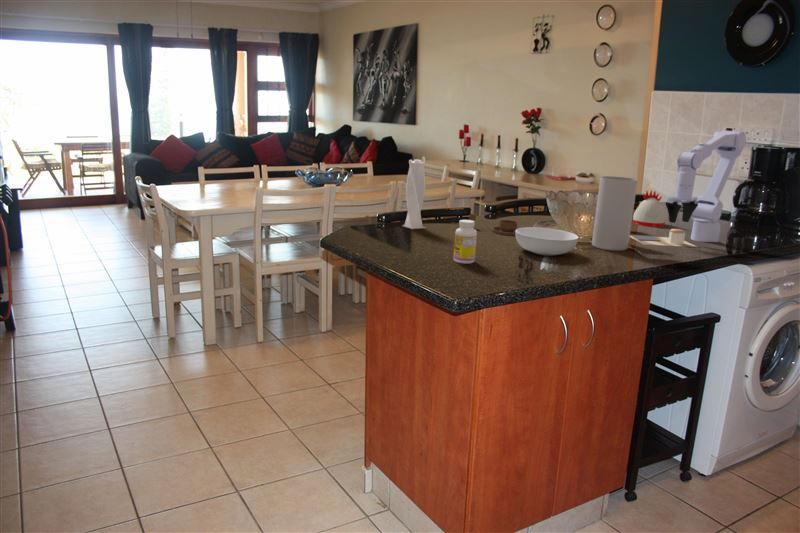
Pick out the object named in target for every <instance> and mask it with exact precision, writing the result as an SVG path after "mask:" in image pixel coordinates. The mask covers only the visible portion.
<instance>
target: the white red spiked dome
mask: <svg viewBox="0 0 800 533" xmlns="http://www.w3.org/2000/svg"><path fill="white" fill-rule="evenodd" d="M659 195H660V193H657V194H656V190H654V191H653V190H650V192H648V190H646V192H645V193H643V192H642V196H643V198H644V200H642V201H641V202H640V203H639V204H638V206H636V210H635V211H634V212H633V214H634V216H633V222H632V224H634V225H636V226H637V225H638V226H644V227H653V228H662V227H665V224H666V214H665V209H664V207H663V205H662V203H661V202H660V201H661V199H662V198H663V197H662V196H660V197H659Z"/></svg>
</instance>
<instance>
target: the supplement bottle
mask: <svg viewBox="0 0 800 533" xmlns="http://www.w3.org/2000/svg"><path fill="white" fill-rule="evenodd" d="M475 222H476V221H472V220H470V219H460V220H459V222H458V224H459V228H456V229H455V233H454V234H455V235H454V247H453V257H452V258H453V259H452V260H453V261H454V262H455V263H458V264H473V263H474V262H476V261H475V259H476V249H477V237H478V231H477V230H476V229H475V228H474V227H475V225H476V224H475Z"/></svg>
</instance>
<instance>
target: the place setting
mask: <svg viewBox="0 0 800 533" xmlns="http://www.w3.org/2000/svg"><path fill="white" fill-rule="evenodd" d="M476 218H477V214H475V213H470V214H469V220H472V221H474V222H476ZM498 222H499V223H498V224H499V226H493V227H492V228H491V229H492V232H493V234H497V235H503V236H515V237H516V234H515V231H516V229H519V228H518V224H519V223H518V221H516V220H510V219H501V220H499V221H498ZM480 232H481V233H485V231H484V230H480Z"/></svg>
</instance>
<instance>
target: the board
mask: <svg viewBox="0 0 800 533" xmlns="http://www.w3.org/2000/svg"><path fill="white" fill-rule="evenodd" d="M654 237H655V238H657V239H659V240H660V241H640V240H638V239H636V238H634V237H632V236H631V235H630V236H629V238H631V239H633V240H634V241H637V242H639V243H640V244H642V245H644V246H645V245H646V246H647V245H648V246H664V247H665V246H666V247H667V246H669V247H687V248H688V247H689V248H698V246H697V245H695V244H693V243H691V242H688V241H686V240H684V244H682V245H676V244H670V243H668V239H669V236H668V237H667V236H654Z"/></svg>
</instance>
